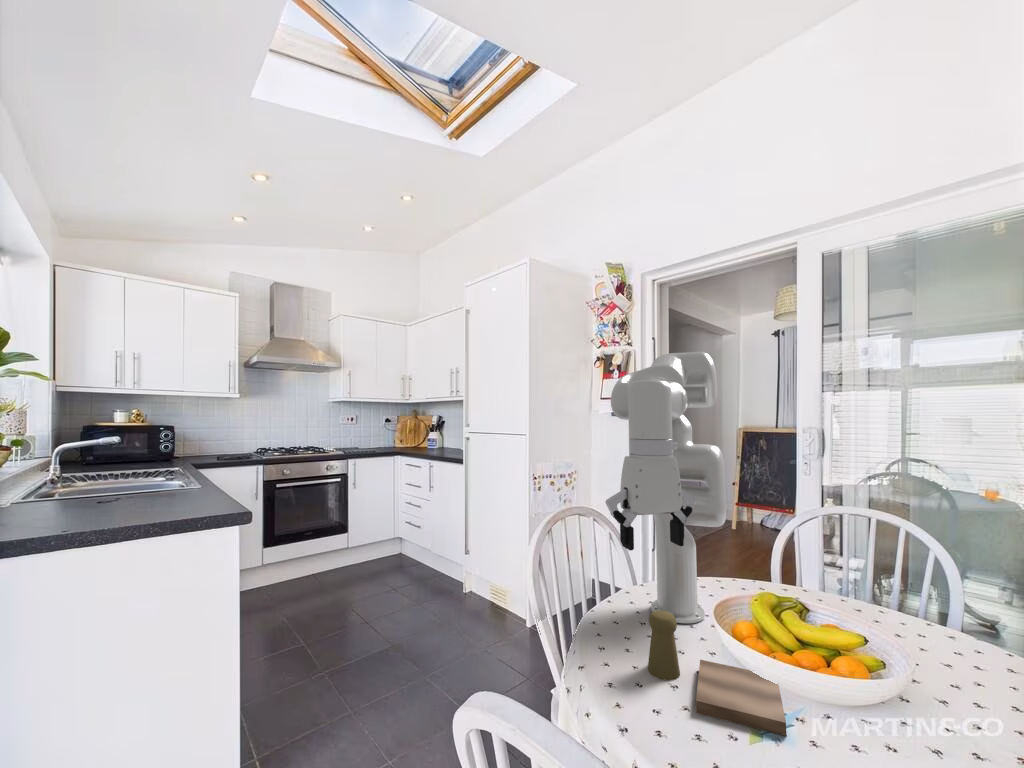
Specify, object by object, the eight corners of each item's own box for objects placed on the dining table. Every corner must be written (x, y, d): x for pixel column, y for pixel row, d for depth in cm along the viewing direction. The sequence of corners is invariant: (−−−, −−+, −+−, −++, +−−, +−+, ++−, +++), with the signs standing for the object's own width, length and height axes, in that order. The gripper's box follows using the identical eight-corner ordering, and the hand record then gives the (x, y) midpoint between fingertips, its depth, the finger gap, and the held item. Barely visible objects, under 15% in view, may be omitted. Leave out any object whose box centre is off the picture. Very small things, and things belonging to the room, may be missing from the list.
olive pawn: (644, 675, 87) (643, 615, 88) (650, 659, 92) (649, 604, 93) (677, 683, 84) (676, 622, 85) (682, 667, 89) (680, 610, 90)
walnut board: (700, 670, 89) (700, 659, 89) (777, 687, 83) (776, 675, 83) (696, 713, 76) (695, 700, 76) (786, 736, 70) (786, 722, 71)
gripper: (680, 446, 87) (683, 537, 86) (597, 448, 83) (598, 543, 82) (706, 449, 80) (709, 548, 79) (615, 451, 76) (617, 556, 75)
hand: (652, 546), depth 81 cm, fingers open, 9 cm apart
